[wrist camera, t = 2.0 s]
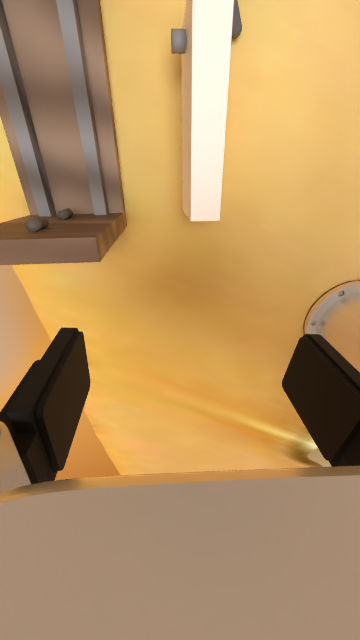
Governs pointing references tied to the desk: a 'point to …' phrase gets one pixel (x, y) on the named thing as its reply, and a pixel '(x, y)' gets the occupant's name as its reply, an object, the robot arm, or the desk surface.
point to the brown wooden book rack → (59, 132)
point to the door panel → (204, 102)
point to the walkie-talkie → (236, 21)
